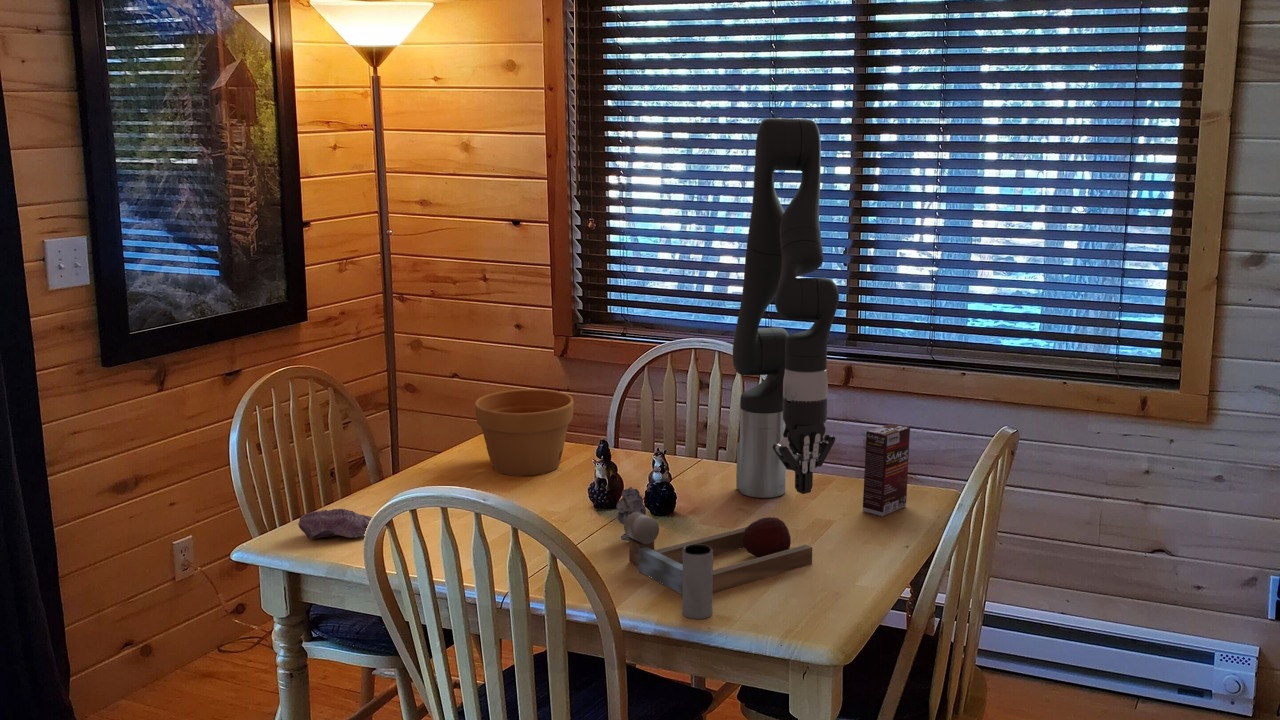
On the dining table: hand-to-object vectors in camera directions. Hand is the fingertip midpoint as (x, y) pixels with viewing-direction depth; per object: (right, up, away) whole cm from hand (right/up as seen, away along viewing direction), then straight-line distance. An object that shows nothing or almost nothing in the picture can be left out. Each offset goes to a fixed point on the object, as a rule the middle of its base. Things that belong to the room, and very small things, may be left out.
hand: (803, 492), depth 206 cm
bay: (-15, -11, -5) cm, 20 cm away
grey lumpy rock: (-30, -9, +6) cm, 32 cm away
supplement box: (+19, -6, +22) cm, 30 cm away
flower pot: (-53, 0, +51) cm, 74 cm away
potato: (-7, -11, -2) cm, 13 cm away
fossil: (-83, -9, +9) cm, 84 cm away
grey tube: (-20, -16, -25) cm, 36 cm away
